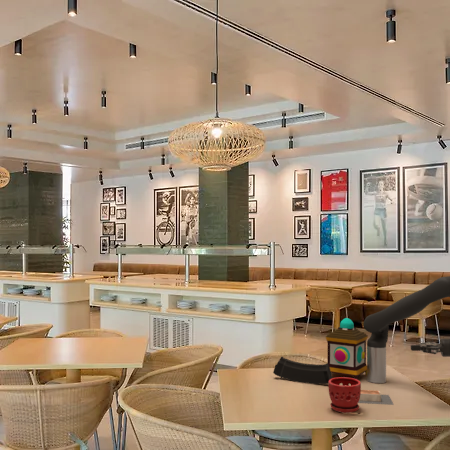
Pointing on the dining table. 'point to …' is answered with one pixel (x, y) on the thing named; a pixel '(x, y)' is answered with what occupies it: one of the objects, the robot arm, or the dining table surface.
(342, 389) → the plant pot
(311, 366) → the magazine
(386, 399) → the mat
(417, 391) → the dining table surface
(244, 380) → the dining table surface
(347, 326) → the decorative lantern
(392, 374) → the dining table surface
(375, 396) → the slab
